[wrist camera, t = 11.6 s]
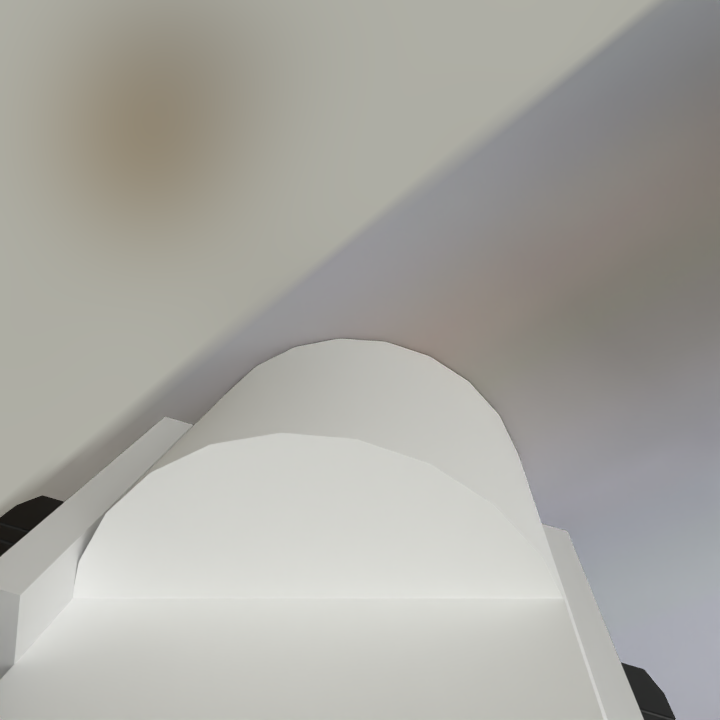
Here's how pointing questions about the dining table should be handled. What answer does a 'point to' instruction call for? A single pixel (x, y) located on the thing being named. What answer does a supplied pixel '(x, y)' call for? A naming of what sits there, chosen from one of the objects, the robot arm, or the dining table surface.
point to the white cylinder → (320, 564)
